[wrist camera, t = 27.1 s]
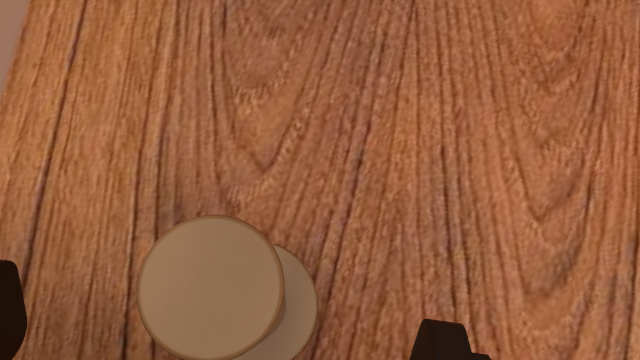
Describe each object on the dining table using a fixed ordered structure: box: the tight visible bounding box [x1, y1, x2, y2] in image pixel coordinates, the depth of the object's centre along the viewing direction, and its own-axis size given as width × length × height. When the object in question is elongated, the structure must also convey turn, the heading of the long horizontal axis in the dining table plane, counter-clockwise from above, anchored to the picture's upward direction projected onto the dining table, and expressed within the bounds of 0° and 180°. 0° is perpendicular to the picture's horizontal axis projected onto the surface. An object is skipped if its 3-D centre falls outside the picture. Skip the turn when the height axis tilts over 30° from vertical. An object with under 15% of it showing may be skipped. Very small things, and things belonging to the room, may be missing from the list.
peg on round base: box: [137, 215, 318, 360], centre depth 13 cm, size 4×4×12 cm
